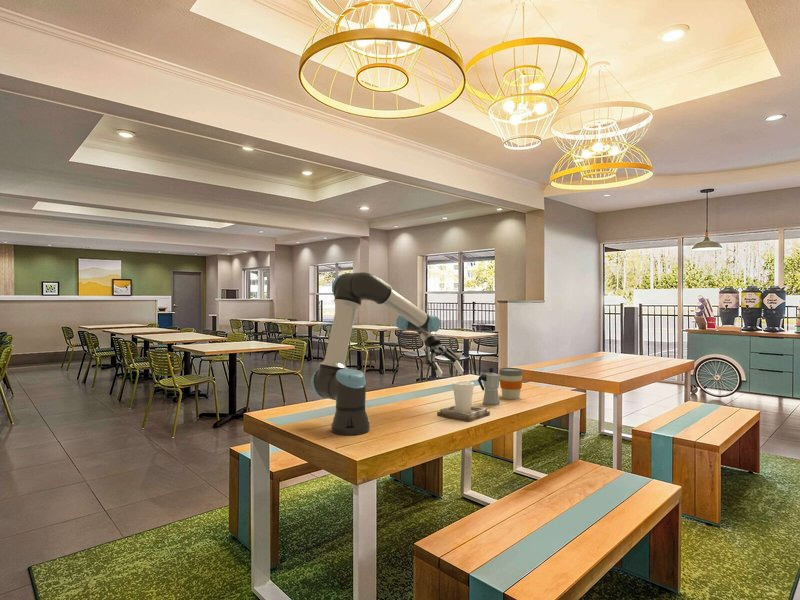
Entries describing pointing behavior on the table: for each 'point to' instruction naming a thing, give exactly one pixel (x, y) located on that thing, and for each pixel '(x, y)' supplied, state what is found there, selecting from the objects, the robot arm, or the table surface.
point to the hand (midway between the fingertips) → (451, 373)
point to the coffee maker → (490, 387)
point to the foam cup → (463, 395)
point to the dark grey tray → (473, 415)
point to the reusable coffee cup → (510, 382)
